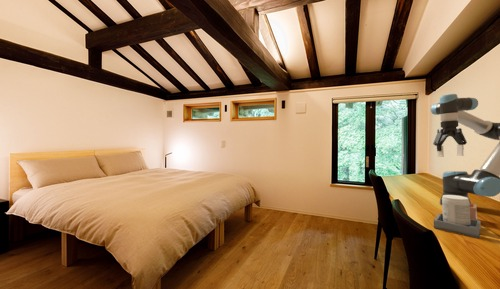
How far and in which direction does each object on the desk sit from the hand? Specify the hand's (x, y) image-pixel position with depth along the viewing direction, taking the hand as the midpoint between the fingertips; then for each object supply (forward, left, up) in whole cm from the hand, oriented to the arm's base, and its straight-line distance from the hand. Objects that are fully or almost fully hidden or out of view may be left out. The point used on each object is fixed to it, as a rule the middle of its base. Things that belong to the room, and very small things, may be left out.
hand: (450, 156), depth 120 cm
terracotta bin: (+6, +10, -34) cm, 36 cm away
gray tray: (+20, +18, -34) cm, 44 cm away
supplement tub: (+20, +18, -34) cm, 43 cm away
